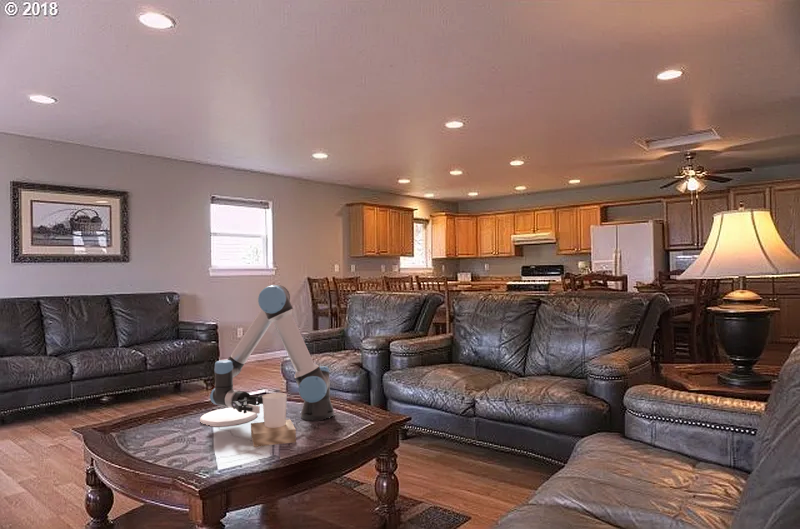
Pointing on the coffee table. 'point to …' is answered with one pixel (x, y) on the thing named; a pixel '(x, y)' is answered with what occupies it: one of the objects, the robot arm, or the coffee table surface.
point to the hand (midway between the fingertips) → (272, 406)
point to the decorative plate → (227, 417)
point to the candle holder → (274, 409)
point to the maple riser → (272, 434)
